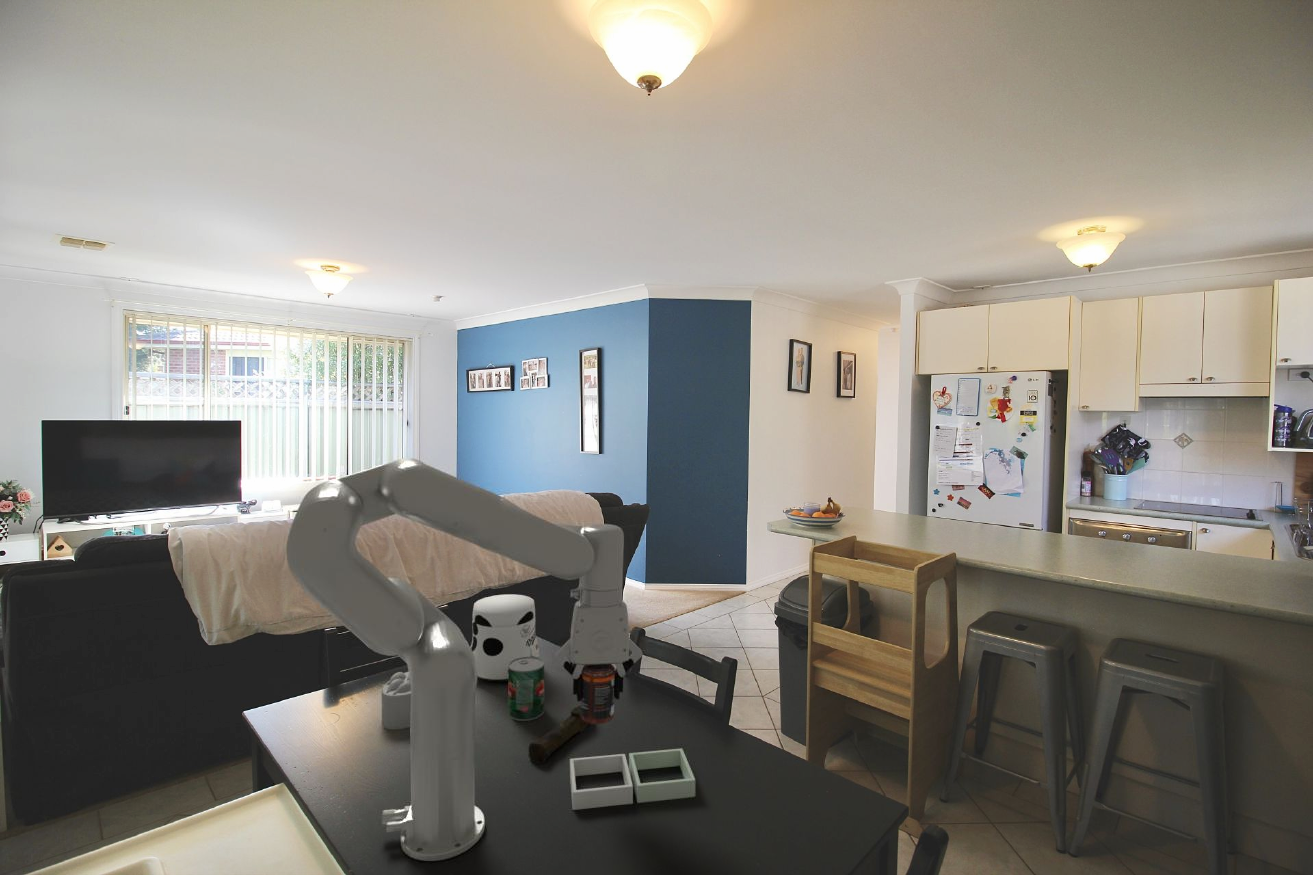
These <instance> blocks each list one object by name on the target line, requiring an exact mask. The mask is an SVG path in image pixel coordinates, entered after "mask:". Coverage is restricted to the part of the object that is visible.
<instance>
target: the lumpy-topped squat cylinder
mask: <svg viewBox="0 0 1313 875" xmlns="http://www.w3.org/2000/svg"><path fill="white" fill-rule="evenodd" d="M410 714H411V682H410V675H409V671H406V672H402V671H399V672H396V673H394V674H393V675H391V677H390V680H388V681H387V682H386V683H385V684H384V686H383V687H382V689H381V725H382V727H383V728H384V729H387V730H401V729H403V730H404V729H407V728H410Z"/></svg>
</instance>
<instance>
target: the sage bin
mask: <svg viewBox="0 0 1313 875" xmlns="http://www.w3.org/2000/svg"><path fill="white" fill-rule="evenodd" d="M628 756H629V757H628V769H629V773H630V777H631V781H632V785H633V792H634V795H635V799H636V803H637V804H640V803H649V802H650V803H651V802H660V801H666V800H667V801H668V800H677V799H687V798H694V797H696V778H695V775H694V773H693V771H692V769H691V766H690V764H689V762H688V760H687V756H686V755H685V752H684V750H683V748H682V747H681V748H673V749H672V748H671V749H663V750H651V751H641V752H639V751H638V752H629V753H628ZM670 767H671V768H672V767H679V768H680V770H681V771H680V772H681V773H682V776H683V778H681V779H679V778H678V779H673V780H670V779H669V780H661V781H651V782H643V783H641V781H640V780H641V779H640V777H639V773H638V771H639V770H640V771H641V770H649V769H650V770H651V769H660V768H662V769H663V768H670Z"/></svg>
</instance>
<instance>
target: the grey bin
mask: <svg viewBox="0 0 1313 875" xmlns="http://www.w3.org/2000/svg"><path fill="white" fill-rule="evenodd" d="M610 773H622V777H623V783H624V784H623V785H614V786H612V785H611V786H605V787H603V786H602V787H594V788H593V787H592V788H584V789H577V784H576V777H580V776H591V775H592V776H593V775H600V774H601V775H602V774H610ZM569 778H570V779H569V782H570V792H571V804H572V805H571V806H572V811H576V810H584V809H585V810H586V809H593V808H603V807H610V806H611V807H613V806H614V807H615V806H620V805H621V806H622V805H623V806H624V805H632V804H634V800H633V799H634V797H633V796H634V787H633V783H632V779H631V775H630V771H629V763H628V761H627V758H626V754H625V753H619V754H609V755H608V754H607V755H598V756H589V757H587V756H586V757H575V758H570V759H569Z"/></svg>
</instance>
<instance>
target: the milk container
mask: <svg viewBox="0 0 1313 875" xmlns="http://www.w3.org/2000/svg"><path fill="white" fill-rule="evenodd" d="M471 625H472V626H471V627H472V640H471V644H470V648H471V650H472V652H473V655H474V657H475V661H476V666H477V679H481V680H483V681H489V682H496V683H497V682H508V664H509V663H510V662H511V661H512V660H514V659H517V658H521V657H537V658H540V656H539V655H540V650H539V644H538V639H537V635H536V607H535V600H534V599H533V598H531V596H527V595H523V594H510V593H509V594H498V595H492V596H488V597H483V598H481V599H478V600H477V601H476V602H474V604H473V608H472V623H471Z"/></svg>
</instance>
